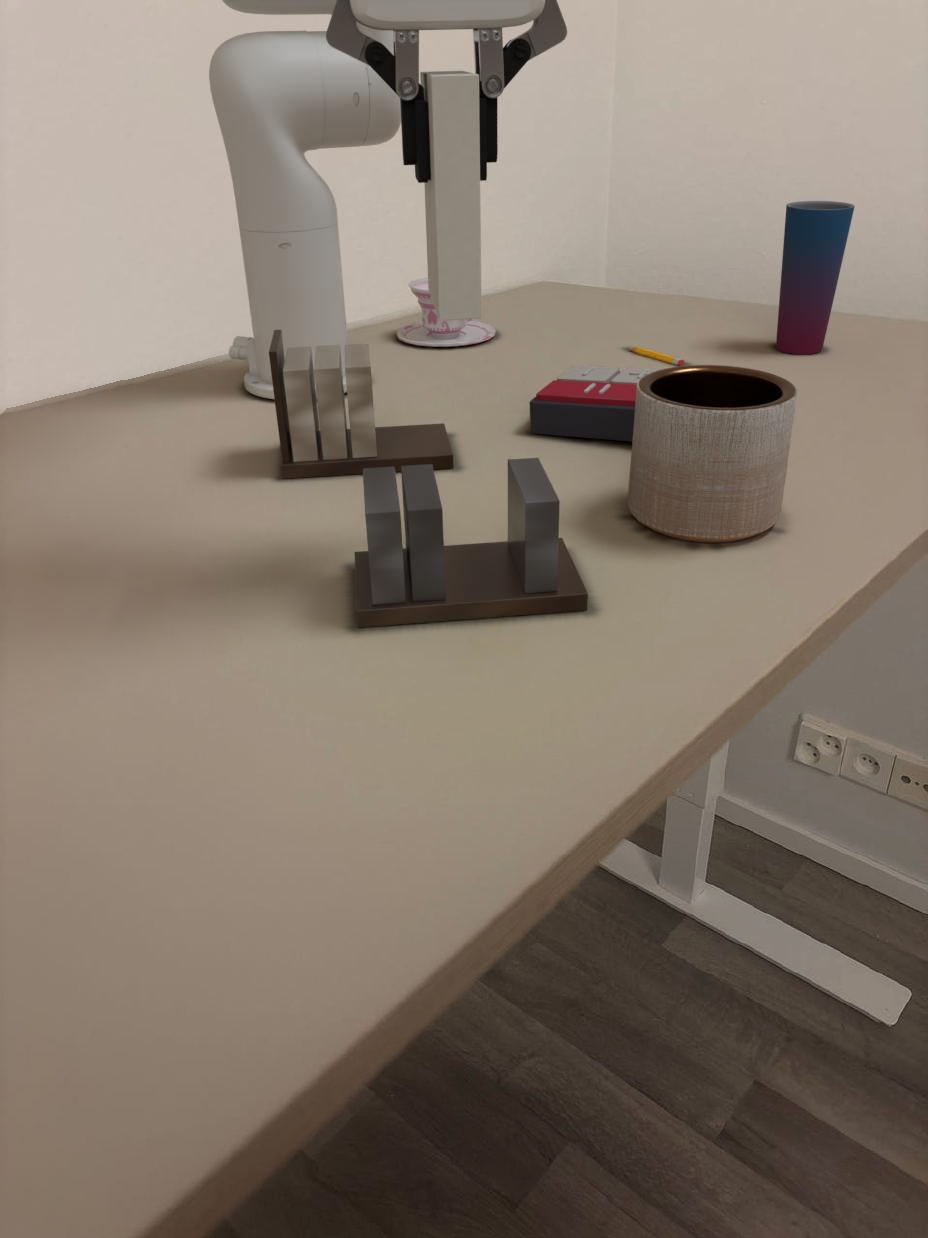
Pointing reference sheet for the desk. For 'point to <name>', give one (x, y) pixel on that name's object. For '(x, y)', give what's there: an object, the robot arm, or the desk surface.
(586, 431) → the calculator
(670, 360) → the pencil
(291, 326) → the robot arm
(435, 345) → the teacup
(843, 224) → the cup
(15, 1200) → the desk surface
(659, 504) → the planter
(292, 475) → the brown rack
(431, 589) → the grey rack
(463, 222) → the white book
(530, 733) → the desk surface
